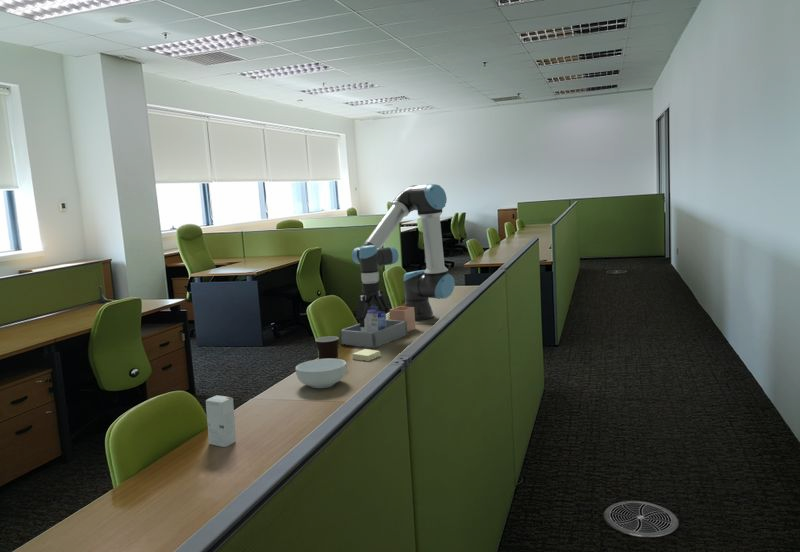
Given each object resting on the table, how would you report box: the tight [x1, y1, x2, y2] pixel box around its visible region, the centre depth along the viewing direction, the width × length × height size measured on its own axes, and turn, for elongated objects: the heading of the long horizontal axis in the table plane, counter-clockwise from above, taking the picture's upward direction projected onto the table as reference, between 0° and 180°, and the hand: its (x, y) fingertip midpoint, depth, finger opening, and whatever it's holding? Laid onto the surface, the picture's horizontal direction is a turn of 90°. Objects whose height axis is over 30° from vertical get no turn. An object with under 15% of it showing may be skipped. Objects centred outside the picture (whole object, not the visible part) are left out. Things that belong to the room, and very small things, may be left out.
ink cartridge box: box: [362, 305, 386, 333], centre depth 266 cm, size 10×6×14 cm, turn 53°
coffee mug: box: [314, 335, 340, 359], centre depth 232 cm, size 12×9×10 cm
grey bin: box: [339, 319, 408, 349], centre depth 267 cm, size 24×18×6 cm
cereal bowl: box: [295, 358, 348, 389], centre depth 207 cm, size 17×17×7 cm
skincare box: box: [205, 394, 237, 448], centre depth 162 cm, size 6×4×12 cm
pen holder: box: [389, 305, 417, 333], centre depth 281 cm, size 8×8×10 cm
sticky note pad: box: [351, 348, 381, 362], centre depth 238 cm, size 8×8×2 cm
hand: (374, 330), depth 267 cm, fingers open, 13 cm apart
